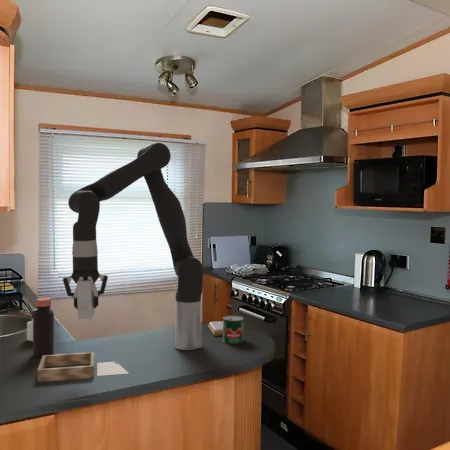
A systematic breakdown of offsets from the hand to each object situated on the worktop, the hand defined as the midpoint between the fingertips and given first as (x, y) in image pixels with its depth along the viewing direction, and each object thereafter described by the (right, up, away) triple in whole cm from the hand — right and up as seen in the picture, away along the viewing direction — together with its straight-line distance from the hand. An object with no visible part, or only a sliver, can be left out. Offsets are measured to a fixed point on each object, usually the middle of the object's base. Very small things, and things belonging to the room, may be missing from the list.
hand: (86, 308), depth 145 cm
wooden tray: (-6, -20, -1) cm, 21 cm away
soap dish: (+43, -20, +44) cm, 64 cm away
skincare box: (0, -3, 0) cm, 3 cm away
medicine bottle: (-28, -19, +34) cm, 48 cm away
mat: (+9, -20, +3) cm, 22 cm away
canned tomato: (+47, -20, +31) cm, 59 cm away
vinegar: (-20, -20, +15) cm, 31 cm away
